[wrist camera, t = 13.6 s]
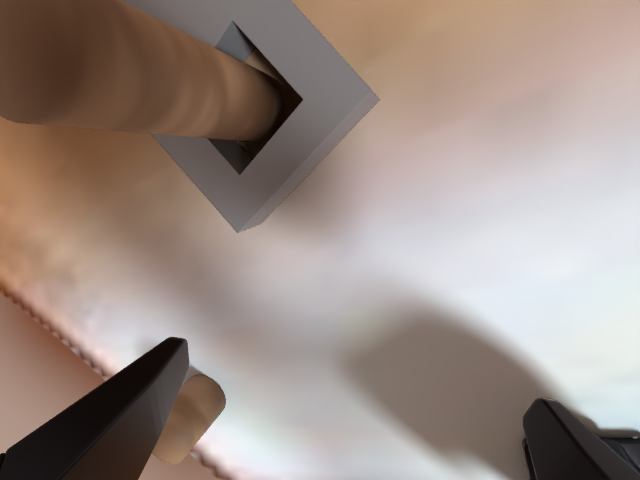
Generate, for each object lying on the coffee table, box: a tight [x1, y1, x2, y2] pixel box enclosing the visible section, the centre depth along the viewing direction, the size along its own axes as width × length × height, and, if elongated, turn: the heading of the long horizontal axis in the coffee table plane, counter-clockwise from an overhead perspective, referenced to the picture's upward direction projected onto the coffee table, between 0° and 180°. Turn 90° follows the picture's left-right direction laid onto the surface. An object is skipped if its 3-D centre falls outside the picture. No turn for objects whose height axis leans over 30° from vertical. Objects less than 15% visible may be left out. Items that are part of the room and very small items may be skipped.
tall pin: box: [0, 0, 291, 143], centre depth 14 cm, size 4×4×14 cm
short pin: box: [152, 375, 226, 464], centre depth 26 cm, size 4×4×5 cm
